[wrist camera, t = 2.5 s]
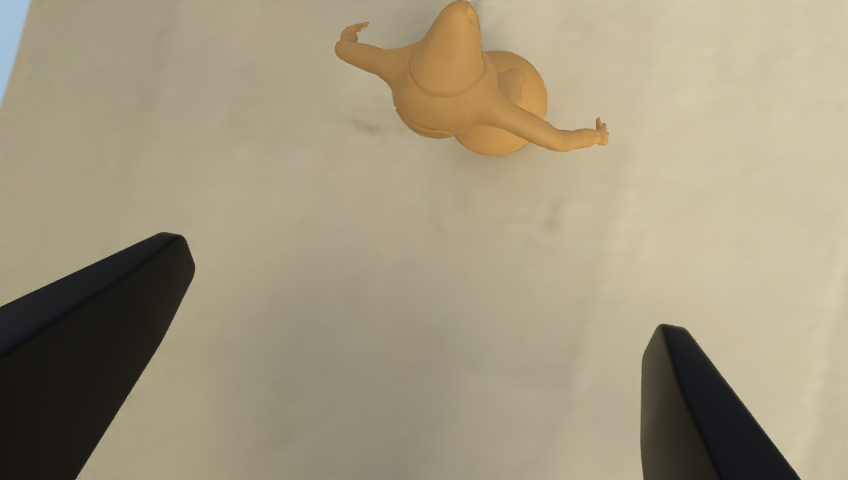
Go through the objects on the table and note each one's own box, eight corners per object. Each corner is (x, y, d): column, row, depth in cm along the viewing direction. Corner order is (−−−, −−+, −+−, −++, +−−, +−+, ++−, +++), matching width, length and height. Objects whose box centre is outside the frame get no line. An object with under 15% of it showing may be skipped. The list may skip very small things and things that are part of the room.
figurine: (606, 116, 22) (739, -88, 10) (543, 246, 22) (601, 197, 10) (429, 43, 23) (358, -213, 11) (370, 165, 23) (234, 35, 11)
